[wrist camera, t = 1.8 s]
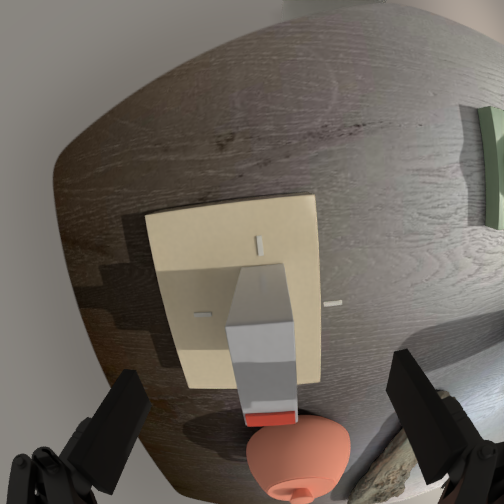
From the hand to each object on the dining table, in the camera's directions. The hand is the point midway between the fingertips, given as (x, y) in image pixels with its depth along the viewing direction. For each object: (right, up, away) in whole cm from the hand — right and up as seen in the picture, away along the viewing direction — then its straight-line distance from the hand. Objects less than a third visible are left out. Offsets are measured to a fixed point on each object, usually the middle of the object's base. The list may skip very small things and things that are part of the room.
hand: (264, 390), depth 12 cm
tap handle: (+1, +2, +8) cm, 8 cm away
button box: (+27, +16, +6) cm, 32 cm away
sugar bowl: (+5, -17, +16) cm, 24 cm away
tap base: (-1, +3, +11) cm, 11 cm away
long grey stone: (+23, -27, +19) cm, 40 cm away
